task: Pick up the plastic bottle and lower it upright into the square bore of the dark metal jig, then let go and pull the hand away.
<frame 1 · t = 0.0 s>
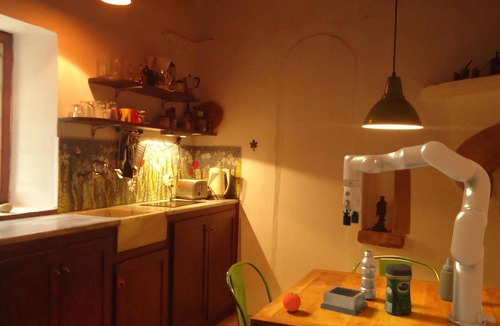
hand: (350, 224, 180), 31 cm above the table, tool pointing down, fingers open, 9 cm apart
squeeze bottle: (447, 299, 182), on the table
clementine: (292, 311, 161), on the table
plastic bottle: (367, 299, 179), on the table
jig: (344, 307, 167), on the table
coffee jar: (397, 312, 163), on the table
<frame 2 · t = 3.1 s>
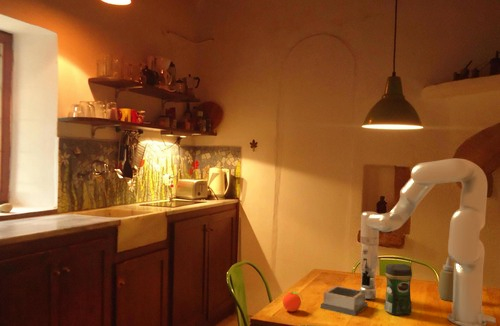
hand: (368, 283, 179), 6 cm above the table, tool pointing down, fingers closed on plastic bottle, 5 cm apart
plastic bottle: (367, 299, 179), on the table, touching gripper
everything else where it was.
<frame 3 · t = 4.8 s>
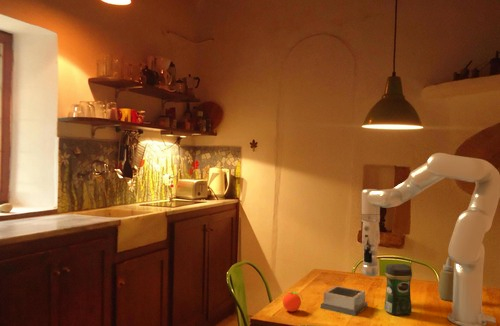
hand: (370, 260, 179), 16 cm above the table, tool pointing down, fingers closed on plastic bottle, 5 cm apart
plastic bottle: (370, 276, 179), point 10 cm above the table, touching gripper
everything else where it was.
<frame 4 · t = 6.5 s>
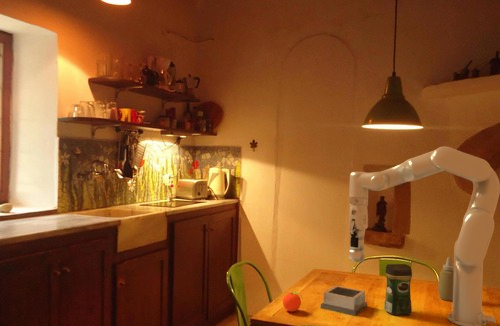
hand: (357, 245, 173), 23 cm above the table, tool pointing down, fingers closed on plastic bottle, 5 cm apart
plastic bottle: (356, 262, 173), point 17 cm above the table, touching gripper
everything else where it was.
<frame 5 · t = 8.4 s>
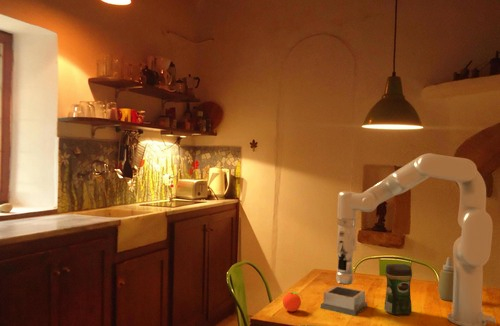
hand: (345, 267, 167), 15 cm above the table, tool pointing down, fingers closed on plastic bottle, 5 cm apart
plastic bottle: (344, 284, 167), point 9 cm above the table, touching gripper
everything else where it was.
when the fingers open (8 cm above the table, at t = 10.2 s): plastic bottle stays where it is, resting on jig.
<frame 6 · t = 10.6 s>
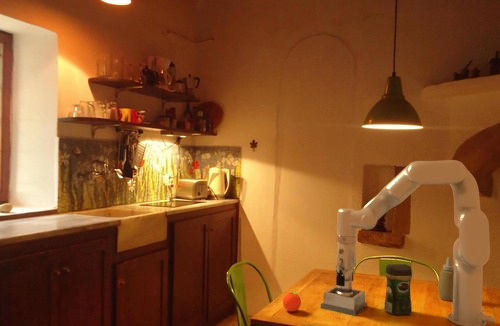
hand: (344, 283, 167), 9 cm above the table, tool pointing down, fingers open, 9 cm apart
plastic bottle: (344, 303, 167), point 1 cm above the table, touching jig
everything else where it was.
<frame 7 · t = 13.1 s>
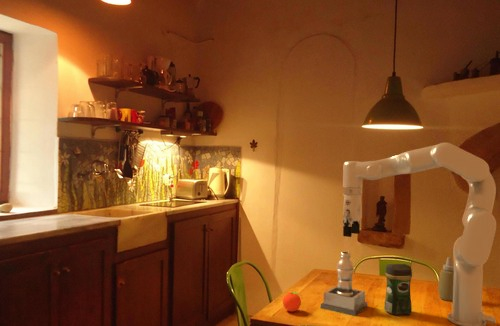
hand: (351, 234, 169), 28 cm above the table, tool pointing down, fingers open, 9 cm apart
nothing on the table moved.
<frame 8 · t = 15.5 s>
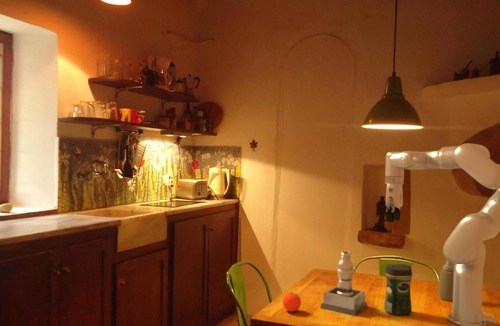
hand: (393, 220, 180), 33 cm above the table, tool pointing down, fingers open, 9 cm apart
nothing on the table moved.
at the end: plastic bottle 0.2 cm off-centre on the jig, point 1.3 cm above the jig's base; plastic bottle tilted 1°; the gripper is holding nothing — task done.
